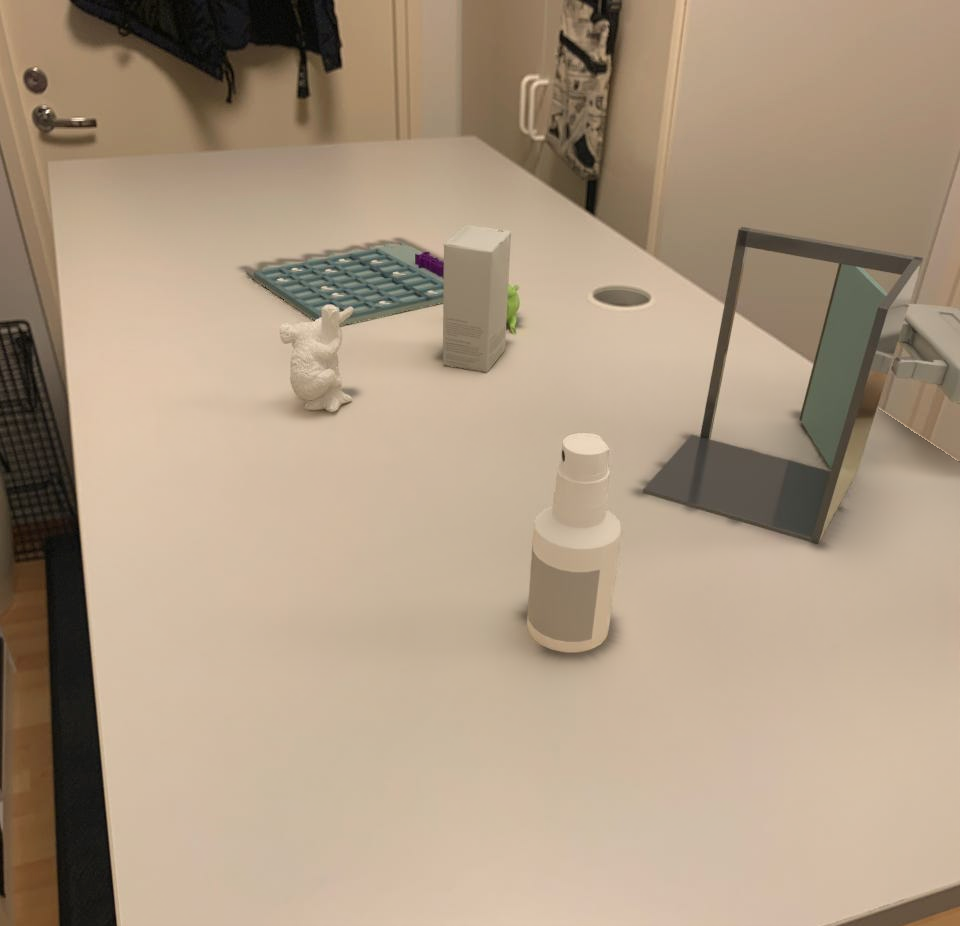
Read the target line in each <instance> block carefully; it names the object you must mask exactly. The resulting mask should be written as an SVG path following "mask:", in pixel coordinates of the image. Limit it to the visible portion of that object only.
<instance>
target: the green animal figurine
mask: <svg viewBox="0 0 960 926" xmlns="http://www.w3.org/2000/svg"><path fill="white" fill-rule="evenodd" d="M519 289H520V286H519V285H518V284H515V285H514V286H512V285H511V284H509V283H508V300H507V320H506V324H507V325H508V327H509V329H510V331H511V332H512V334H514V333H516V334H517V329H516V327H515V326H516V325H517V320H518V319H517V316H516V314H517V313H518V311H519V310H520V309H519V308H520V304H521V301H520V297H519V294H518V293H517V291H519Z"/></svg>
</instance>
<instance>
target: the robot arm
mask: <svg viewBox="0 0 960 926" xmlns="http://www.w3.org/2000/svg"><path fill="white" fill-rule="evenodd" d="M897 343H899V345H900V346H901V347H902V348H903V349H904V350H905V351H906V353H907V354H908V355H909V356H896V357H895V358H894V359H893V362H892V366H891V372H892V373H893V374H894V376H895V377H896V378H897V379H911V380H915V381H918V382H921V383H925V384H928V385H935V386H937V387H938V388H939V389H940V390H941V392H942V393H943V394H944V395H945V396H946V398H947V399H948V400H949V401H950V402H952V403H955V404H958V405H960V308H957V307H953V306H947V305H937V304H926V303H925V304H923V303H909V306H908V310H907V313H906V316H905V319H904V323H903V326H902V329H901V332H900V335H899V339H898V342H897Z"/></svg>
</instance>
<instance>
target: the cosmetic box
mask: <svg viewBox="0 0 960 926" xmlns="http://www.w3.org/2000/svg"><path fill="white" fill-rule="evenodd" d="M511 240H512V231H511V230H509V229H501V228H492V227H485V226H478V225H471V224H465V225H463V227H462V228H460V229H459V230H458V231H456V233H455V234H454V235H452V236H451V237H450V238H449V239H448V240H446V241H445V242H443V262H444V292H443V303H442V304H443V305H442V309H443V311H442V314H443V315H442V316H443V317H442V365H443V366H444V365H447V366H446V367H450V366H453V367H452V368H456V367H459V368H458V369H462V368H465V369H464V370H468V369H471V370H470V371H474V370H477V371H476V372H480V371H483V372H482V373H489V371H490V369H491V368H492V367H493V366H494V364H495V363H496V362H497V361H498V359H499V358H500V357H501V356H502V354H503V353H504V352H505V350H506V343H507V341H506V338H507V322H506V320H507V300H508V284H509V281H510V280H509V279H510V261H511V259H510V258H511V242H512V241H511Z"/></svg>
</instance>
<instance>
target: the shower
mask: <svg viewBox="0 0 960 926" xmlns="http://www.w3.org/2000/svg"><path fill="white" fill-rule="evenodd" d="M734 246H735V247H734V251H733V257H732V262H731V267H730V272H729V273H730V274H729V278H728V284H727V289H726V294H725V295H726V296H725V300H724V305H723V311H722V315H721V321H720V327H719V332H718V338H717V344H716V349H715V353H714V359H713V364H712V370H711V376H710V379H709V380H710V381H709V385H708V391H707V397H706V402H705V407H704V413H703V419H702V424H701V429H700V434H699V436H698V435H694V434H691V435H690V436H689V437H688V438H687V439H686V440H685V441H684V443H682V444H681V446H680V447H679V448H678V449H677V450H676V452H675V453H674V454H673V455H672V456H671V457H670V458H669V459H668V460H667V462H665V464H664V465H663V466H662V467H661V468H660V469H659V471H658V472H657V473H656V474H655V475H654V476H653V477H652V478H651V480H650V481H648V483H647V484H646V485H645V486H644V488H642V494H645V495H649V496H652V497H656V498H659V499H663V500H666V501H670V502H672V503H673V502H674V503H677V504H680V505H683V506H686V507H690V508H693V509H696V510H700V511H704V512H706V513H707V512H708V513H710V514H714V515H717V516H721V517H724V518H727V519H731V520H735V521H737V522H741V523H745V524H748V525H751V526H755V527H758V528H761V529H765V530H769V531H772V532H776V533H778V534H782V535H786V536H789V537H791V538H796V539H799V540H802V541H806V542H809V543H813V544H816V545H820V542H821V540H822V539H823V537H824V535H825V533H826V532H827V530H828V528H829V526H830V524H831V523H832V520H833V519H834V517H835V515H836V513H837V511H838V510H839V508H840V506H841V504H842V502H843V500H844V498H845V497H846V495H847V493H848V491H849V489H850V487H851V486H852V484H853V482H854V480H855V478H856V476H857V473H858V471H859V468H860V465H861V461H862V457H863V455H864V452H865V448H866V445H867V441H868V439H869V435H870V432H871V429H872V426H873V422H874V419H875V415H876V413H877V409H878V407H879V403H880V399H881V396H882V393H883V390H884V386H885V383H886V381H887V377H888V374H889V370H890V367H891V364H892V361H893V358H894V355H895V351H896V348H897V345H898V343H899V342H898V339H899V335H900V332H901V329H902V326H903V323H904V319H905V316H906V313H907V310H908V306H909V304H911V300H912V297H913V293H914V291H915V290H914V289H915V287H916V284H917V280H918V277H919V274H920V270H921V267H922V264H923V261H924V257H920V256H914V255H909V254H903V253H897V252H890V251H885V250H879V249H873V248H867V247H863V246H857V245H850V244H846V243H845V244H844V243H838V242H833V241H827V240H821V239H815V238H810V237H804V236H798V235H792V234H786V233H780V232H774V231H769V230H763V229H758V228H751V227H745V226H741V227H739V228H738V230H737V235H736V240H735V245H734ZM748 248H750V249H756V250H761V251H767V252H773V253H778V254H784V255H789V256H795V257H801V258H806V259H812V260H817V261H822V262H829V263H834V264H838V265H839V264H844V265H850V266H856V267H861V268H863V269H868V270H872V271H879V272H883V273H890V274H895V275H900V277H898V279H897V280H896V282H895V283H894V285H893V286H892V287H891V288H890V290H889V291H888V292H887V293H888V294H887V296H886V297H885V299H884V300H883V301H882V303H881V304H880V306H879V307H878V309H877V313H876V316H875V320H874V323H873V327H872V330H871V334H870V337H869V340H868V344H867V347H866V351H865V354H864V358H863V361H862V365H861V368H860V371H859V375H858V378H857V382H856V385H855V389H854V392H853V396H852V399H851V403H850V406H849V409H848V413H847V416H846V420H845V423H844V427H843V430H842V434H841V437H840V440H839V444H838V447H837V451H836V454H835V458H834V461H833V465H832V468H830V470H828V469H824V468H820V467H817V466H812V465H808V464H804V463H801V462H797V461H793V460H789V459H786V458H782V457H778V456H774V455H770V454H767V453H763V452H760V451H755V450H751V449H748V448H744V447H740V446H737V445H732V444H729V443H725V442H721V441H717V440H714V439H711V438H712V434H713V429H714V425H715V418H716V412H717V406H718V402H719V397H720V392H721V386H722V382H723V377H724V371H725V366H726V361H727V356H728V350H729V346H730V341H731V334H732V330H733V325H734V320H735V315H736V310H737V306H738V305H737V304H738V300H739V293H740V289H741V283H742V279H743V275H744V274H743V273H744V269H745V265H746V264H745V263H746V259H747V252H748Z"/></svg>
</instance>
